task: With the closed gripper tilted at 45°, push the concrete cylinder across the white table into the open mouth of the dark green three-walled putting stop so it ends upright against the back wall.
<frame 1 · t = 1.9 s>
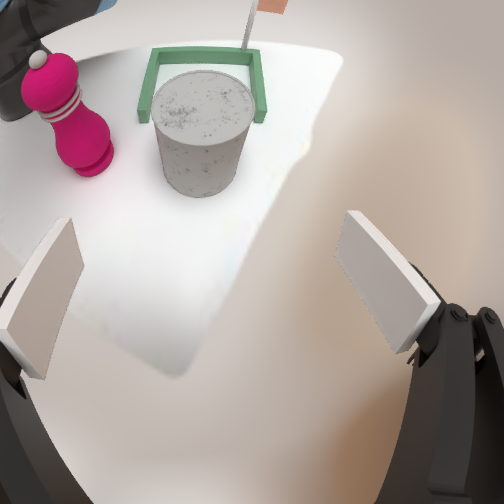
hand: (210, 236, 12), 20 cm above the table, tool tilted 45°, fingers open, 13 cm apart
pepper mill: (93, 157, 32), on the table
putting stop: (203, 78, 36), on the table
concrete cylinder: (199, 164, 34), on the table
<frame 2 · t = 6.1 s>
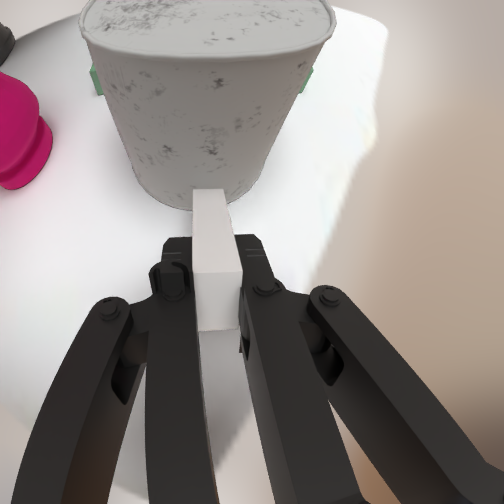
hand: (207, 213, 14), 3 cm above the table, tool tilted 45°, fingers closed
pepper mill: (24, 156, 16), on the table
concrete cylinder: (198, 148, 18), on the table, touching gripper
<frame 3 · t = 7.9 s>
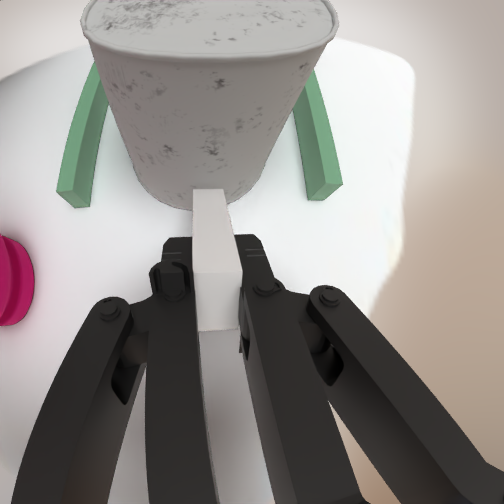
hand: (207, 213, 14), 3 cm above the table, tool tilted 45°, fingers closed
pepper mill: (7, 282, 14), on the table
putting stop: (199, 96, 19), on the table
concrete cylinder: (199, 148, 18), on the table, touching gripper
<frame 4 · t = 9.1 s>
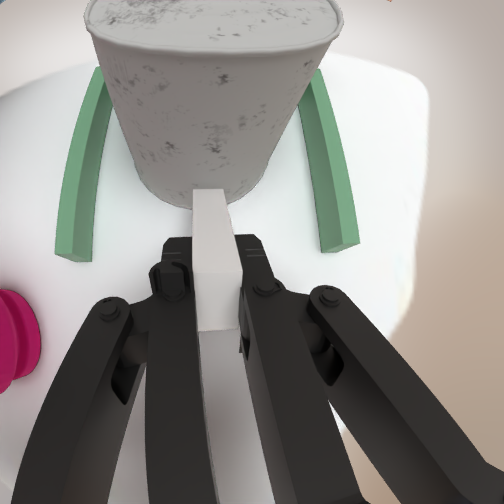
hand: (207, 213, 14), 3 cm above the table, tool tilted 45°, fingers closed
pepper mill: (12, 333, 13), on the table
putting stop: (204, 131, 18), on the table
concrete cylinder: (201, 147, 18), on the table, touching gripper
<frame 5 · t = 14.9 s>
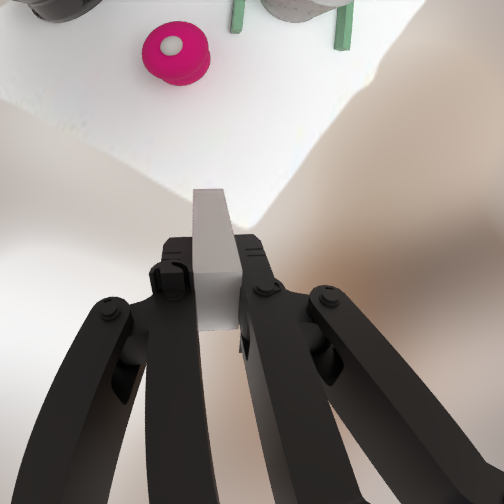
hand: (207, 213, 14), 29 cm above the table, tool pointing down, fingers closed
pepper mill: (184, 62, 32), on the table
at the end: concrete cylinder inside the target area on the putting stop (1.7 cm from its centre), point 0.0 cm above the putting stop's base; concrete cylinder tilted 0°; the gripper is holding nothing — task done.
